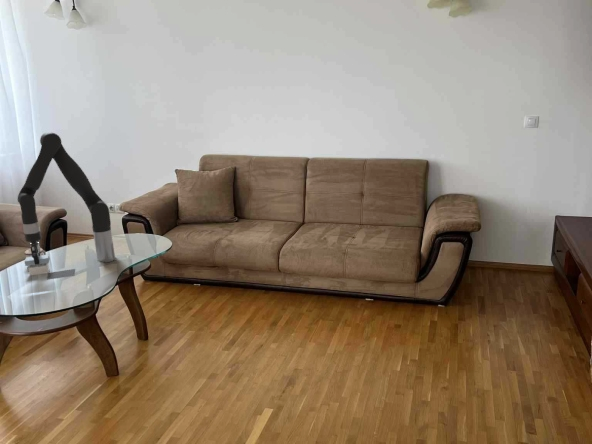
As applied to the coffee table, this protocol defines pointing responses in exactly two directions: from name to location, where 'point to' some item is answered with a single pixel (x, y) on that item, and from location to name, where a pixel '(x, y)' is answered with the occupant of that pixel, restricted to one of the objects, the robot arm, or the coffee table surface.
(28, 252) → the teacup with lid
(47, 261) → the lid
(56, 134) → the robot arm
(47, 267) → the white open cubby box
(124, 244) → the coffee table surface
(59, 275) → the mat
